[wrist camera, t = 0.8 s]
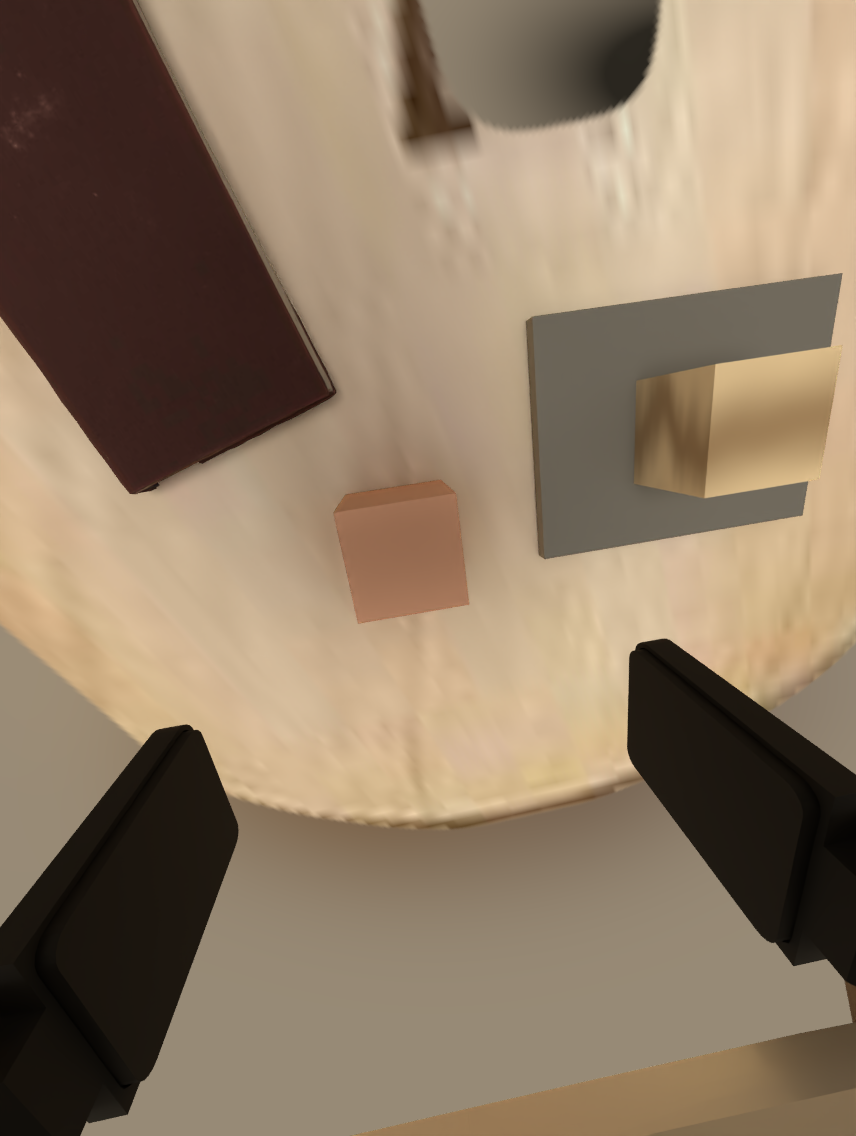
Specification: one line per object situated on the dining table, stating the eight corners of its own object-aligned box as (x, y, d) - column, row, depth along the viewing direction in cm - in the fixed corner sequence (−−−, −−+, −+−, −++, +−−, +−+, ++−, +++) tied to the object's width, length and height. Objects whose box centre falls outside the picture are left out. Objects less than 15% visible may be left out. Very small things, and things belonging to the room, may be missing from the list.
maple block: (636, 380, 24) (715, 364, 18) (733, 366, 24) (842, 345, 18) (633, 483, 26) (704, 498, 20) (724, 469, 26) (819, 479, 20)
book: (154, 491, 24) (121, 499, 21) (-124, 96, 18) (-229, 26, 15) (340, 398, 24) (333, 392, 21) (121, -43, 17) (64, -146, 14)
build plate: (526, 321, 23) (532, 316, 22) (824, 279, 24) (842, 273, 23) (539, 554, 27) (544, 559, 27) (788, 512, 28) (802, 515, 27)
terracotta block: (345, 494, 25) (333, 512, 19) (440, 479, 25) (455, 493, 20) (364, 583, 27) (358, 623, 21) (452, 568, 27) (469, 604, 22)
